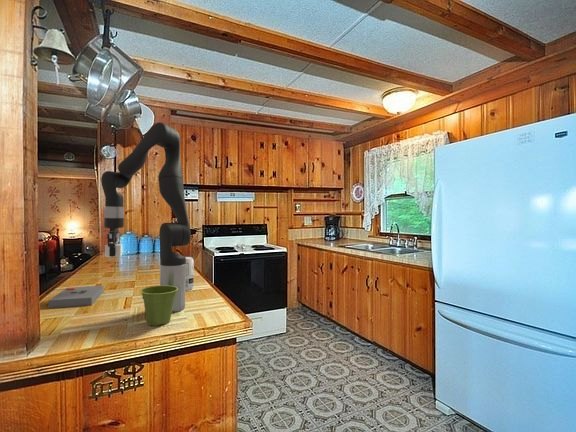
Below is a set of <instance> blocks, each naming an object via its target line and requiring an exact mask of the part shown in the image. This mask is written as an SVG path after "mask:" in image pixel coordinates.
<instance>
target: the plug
mask: <svg viewBox="0 0 576 432" xmlns="http://www.w3.org/2000/svg"><path fill="white" fill-rule="evenodd" d="M109 250H110V248H109V247H108V243H107V244H105V245H104V257H105V258H107V259H106V260H107V262H110V261H112V257H113V258H114V262H118V261H120V258H121V257H122V256H123V244H122V243H120V244H116V253H115V256H109Z"/></svg>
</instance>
